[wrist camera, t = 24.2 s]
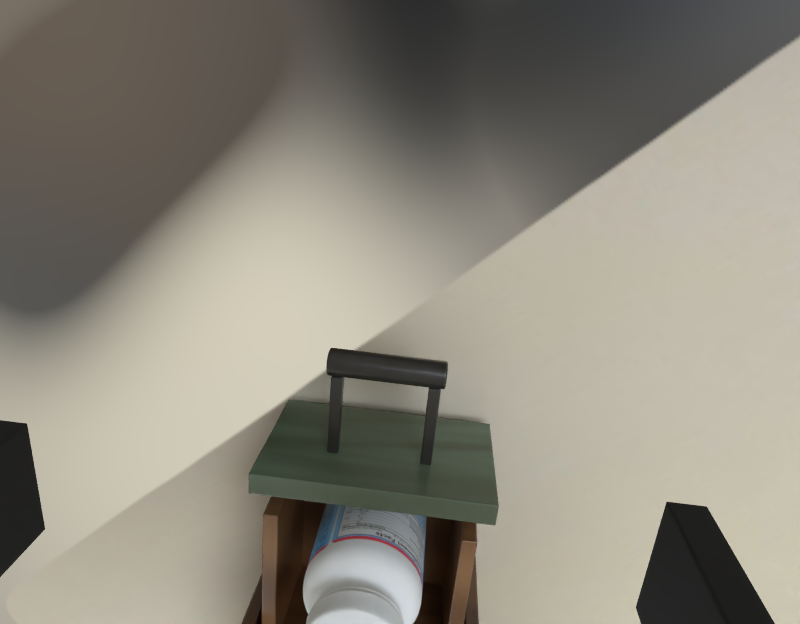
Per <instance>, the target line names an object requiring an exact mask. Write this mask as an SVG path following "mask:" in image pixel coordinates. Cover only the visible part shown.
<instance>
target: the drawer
mask: <svg viewBox="0 0 800 624" xmlns="http://www.w3.org/2000/svg"><path fill="white" fill-rule="evenodd" d="M447 371H448V362H446V361H439V360H430V359H422V358H413V357H405V356H396V355H388V354H379V353H371V352H362V351H354V350H345V349H337V348H331V349H330V351H329V354H328V358H327V375H330V376H332V377H331V390H330V404H322V403H313V402H305V401H297V400H288V402H287V404H286V406H285V408H284V410H283V412H282V413H281V415H280V417H279V419H278V421H277V423H276V425H275V426H274V428H273V430H272V432H271V434H270V436H269V437H268V439H267V441H266V443H265V445H264V447H263V449H262V450H261V452H260V454H259V456H258V458H257V460H256V462H255V463H254V465H253V467H252V469H251V471H250V473H249V493H250V494H258V495H266V496H271V498H270V501H269V503H268V505H267V507H266V510H265V512H264V514H263V564H262V624H306V621H307V617H308V613H307V610H306V608H305V604H304V600H303V583H304V578H305V573H306V570H307V566H308V563H309V560H310V556H311V553H312V550H313V546H314V543H315V540H316V536H317V533H318V529H319V526H320V523H321V519H322V516H323V512H324V509H325V506H326V503H327V504H335V505H342V506H350V507H358V508H365V509H373V510H381V511H388V512H396V513H404V514H411V515H419V516H427V521H426V538H425V553H424V571H423V587H422V599H421V606H420V610H419V613H418V616H417V618H416V620H415V621H414V623H413V624H464V618H465V612H466V606H467V600H468V594H469V589H470V583H471V577H472V571H473V565H474V559H475V553H476V547H477V529H476V523H481V524H488V525H495V524H496V518H497V513H498V507H499V505H498V496H497V487H496V478H495V468H494V459H493V450H492V441H491V432H490V425H489V424H485V423H477V422H469V421H460V420H452V419H444V418H437V416H438V408H439V400H440V392H441V389H445V386H446V380H447ZM344 377H347V378H355V379H363V380H371V381H380V382H388V383H396V384H405V385H413V386H421V387H429V391H428V400H427V408H426V416H420V415H411V414H403V413H395V412H387V411H379V410H371V409H362V408H354V407H346V406H342V403H343V388H344Z"/></svg>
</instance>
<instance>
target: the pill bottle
mask: <svg viewBox="0 0 800 624" xmlns="http://www.w3.org/2000/svg"><path fill="white" fill-rule="evenodd" d="M426 521H427V516H419V515H411V514H404V513H396V512H388V511H381V510H373V509H365V508H358V507H350V506H342V505H335V504H327V503H326V506H325V509H324V512H323V516H322V519H321V523H320V526H319V529H318V533H317V536H316V540H315V543H314V546H313V550H312V553H311V556H310V560H309V563H308V566H307V570H306V573H305V578H304V583H303V600H304V604H305V608H306V610H307V613H308V617H307V621H306V624H413V623H414V621H415V620H416V618H417V616H418V613H419V610H420V606H421V599H422V587H423V571H424V553H425V538H426Z"/></svg>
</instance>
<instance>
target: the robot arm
mask: <svg viewBox="0 0 800 624" xmlns="http://www.w3.org/2000/svg"><path fill="white" fill-rule="evenodd" d="M43 530H45V526H44V521H43V515H42V509H41V503H40V497H39V491H38V485H37V479H36V474H35V468H34V462H33V456H32V450H31V444H30V438H29V433H28V427H27V424H25V423H16V422H9V421H1V420H0V577H1V576H2V574H3V573H4V572H5V571H6V570H7V569H8V568H9V567H10V566H11V565H12V564H13V563H14V562H15V561H16V560H17V558H18V557H19V556H20V555H21V554H22V553H23V552H24V551H25V550H26V549H27V548H28V547H29V546H30V545H31V543H32V542H33V541H34V540H35V539H36V538H37V537H38V536H39V535H40V534H41V533H42V532H43ZM636 609H637V612H638V615H639V618H640V621H641V624H775V623H774V622H773V620H772V618H771V616H770V615H769V613H768V611H767V610H766V608H765V606H764V604H763V603H762V601H761V599H760V598H759V596H758V594H757V592H756V591H755V589H754V587H753V585H752V584H751V582H750V580H749V579H748V577H747V575H746V573H745V572H744V570H743V568H742V567H741V565H740V563H739V561H738V560H737V558H736V556H735V555H734V553H733V551H732V549H731V548H730V546H729V544H728V542H727V541H726V539H725V537H724V536H723V534H722V532H721V530H720V529H719V527H718V525H717V524H716V522H715V520H714V518H713V517H712V515H711V513H710V512H709V510H708V508H707V507H705V506H697V505H689V504H680V503H672V502H667V503H666V506H665V510H664V513H663V516H662V520H661V523H660V527H659V530H658V534H657V537H656V540H655V544H654V547H653V551H652V554H651V558H650V561H649V564H648V568H647V571H646V575H645V578H644V582H643V585H642V588H641V592H640V595H639V599H638V602H637V606H636Z"/></svg>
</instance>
